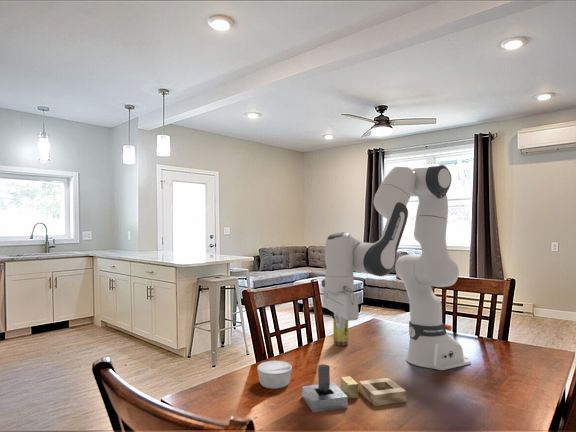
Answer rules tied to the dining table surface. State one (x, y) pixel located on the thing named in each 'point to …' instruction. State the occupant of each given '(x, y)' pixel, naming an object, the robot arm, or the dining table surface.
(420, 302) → the robot arm
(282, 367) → the ramekin
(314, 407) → the socket plate
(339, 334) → the sauce bottle
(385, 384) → the block
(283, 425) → the dining table surface
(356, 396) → the bar
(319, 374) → the dark grey rounded rod
